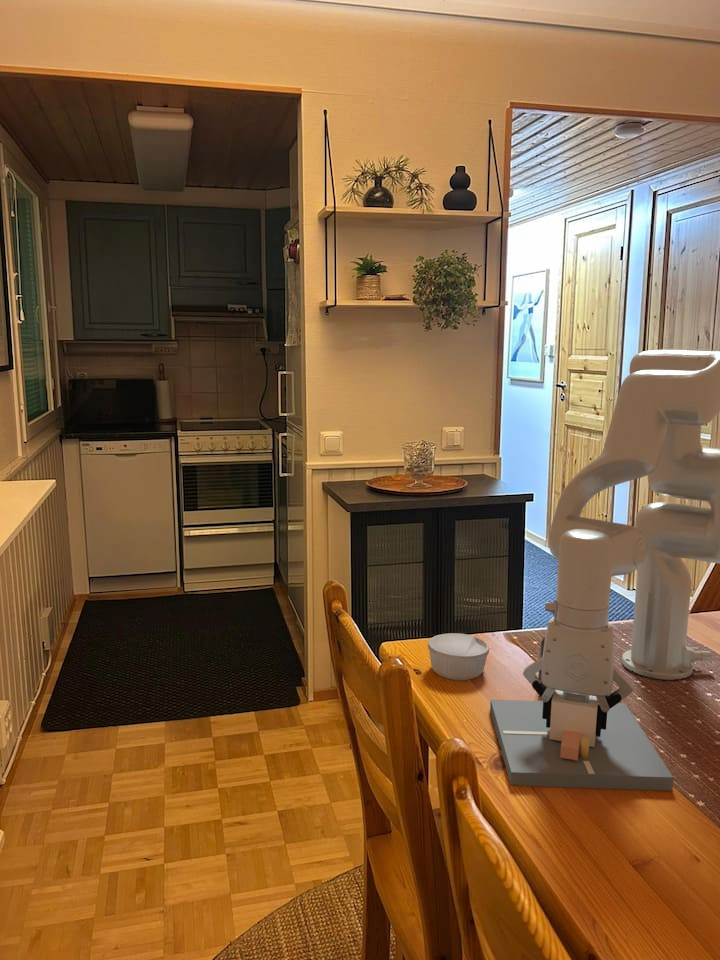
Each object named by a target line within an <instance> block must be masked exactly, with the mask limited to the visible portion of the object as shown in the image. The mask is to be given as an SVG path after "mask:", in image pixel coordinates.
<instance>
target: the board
mask: <svg viewBox="0 0 720 960" xmlns="http://www.w3.org/2000/svg"><path fill="white" fill-rule="evenodd" d="M565 700H571V701H578V702H584V703H586V695H585V694H578V693H572V692H566V695H565ZM598 704H599V703H598ZM489 705H490V707H489V708H490V709H489V712H490V715H491V719H492V722H493V727H494V730H495V733H496V737H497V740H498V744H499V747H500V748H501V749H500V751H501V755H502V759H503V762H505V763H504V766H505V765H506V767H505V769H507V770H506V774H507V773H508V774H507V777H508V776H509V778H508V780H510V781H509V785H510V784H511V785H526V786H525V787H541V786H547V787H549V788H578V789H579V788H580V789H607V790H609V789H611V790H632V791H633V790H636V791H639V790H640V791H668V792H671V791H673V787H674V776H673V774H672V773H671V771H670V770H669V768H668V767H667V765H666V763H665V762H664V760H663V759H662V757H661V756H660V754H659V752H658V751H657V750H656V748H655V747H654V745H653V743H651V740H650V739H649V738H648V736H647V735H646V733H645V732H644V730H643V728H642V727H641V726H640V724H639V722H638V721H637V719H636V718H635V716H634V715H633V713H632V712H631V710H630V709H629V707H628V706H627V704H626V703H623V702H621V703H620V702H619V703H618V704H616V705H615V706H613V707H612V708H610V709H609V711H608V712H607V723H606V730H604V729H601V734H600V737H597V735H596V737H595V746H594V747H592V746H589V742H590V738H589V737H587V736H581V744H580V749H579V755H578V761H576V760H571V759H565V758H560V752H561V743H562V741H558V740H552V739H549V738H550V728H547V727H546V719H542V714H543V701H542V700H519V699H518V700H517V699H516V700H514V699H490V703H489ZM511 785H510V786H511ZM547 787H546V788H547Z"/></svg>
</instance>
